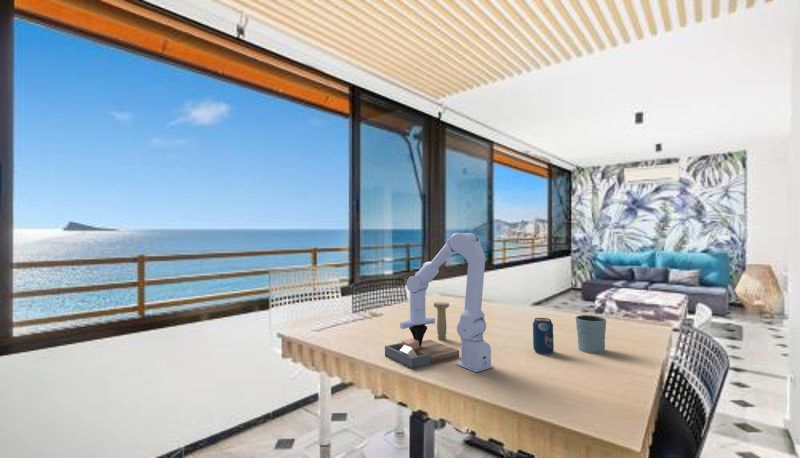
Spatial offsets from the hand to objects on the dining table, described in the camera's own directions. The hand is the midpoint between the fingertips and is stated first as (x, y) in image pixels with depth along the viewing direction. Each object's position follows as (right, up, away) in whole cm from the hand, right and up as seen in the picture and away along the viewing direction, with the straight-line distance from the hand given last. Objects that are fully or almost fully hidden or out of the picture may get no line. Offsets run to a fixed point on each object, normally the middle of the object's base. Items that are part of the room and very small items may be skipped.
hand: (418, 345), depth 134 cm
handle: (+11, -3, +18) cm, 21 cm away
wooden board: (+4, -3, -2) cm, 5 cm away
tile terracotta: (-3, 0, -2) cm, 4 cm away
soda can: (+46, -2, -1) cm, 46 cm away
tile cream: (-3, +1, -10) cm, 11 cm away
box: (-4, -3, -8) cm, 9 cm away
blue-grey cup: (+64, -2, 0) cm, 64 cm away
